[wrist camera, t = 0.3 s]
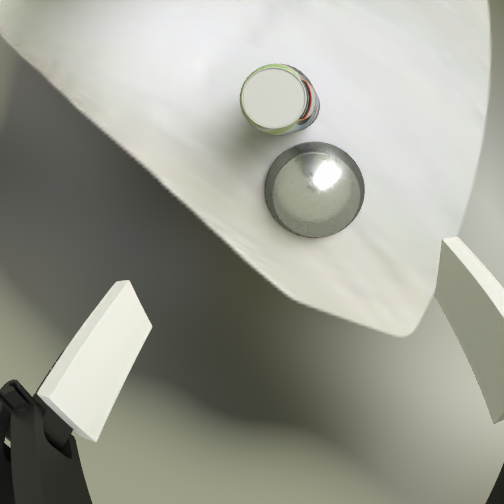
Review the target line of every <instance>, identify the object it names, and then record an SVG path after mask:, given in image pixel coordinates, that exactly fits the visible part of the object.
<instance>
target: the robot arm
mask: <svg viewBox="0 0 504 504" xmlns="http://www.w3.org/2000/svg"><path fill="white" fill-rule="evenodd" d="M435 298H436V299H437V301H438V303H439V304H440V306H441V308H442V310H443V312H444V314H445V315H446V317H447V319H448V321H449V323H450V325H451V327H452V328H453V330H454V332H455V334H456V336H457V338H458V340H459V342H460V344H461V346H462V348H463V350H464V352H465V354H466V357H467V359H468V361H469V363H470V365H471V368H472V370H473V372H474V374H475V377H476V379H477V381H478V384H479V386H480V388H481V391H482V394H483V396H484V399H485V401H486V404H487V407H488V409H489V412H490V415H491V418H492V420H493V423H494V424H495V423H497V422H499V421H502V420H503V419H504V289H503V288H502V286H501V285H500V284H499V283H498V281H497V280H496V279H495V278H494V277H493V275H492V274H491V273H490V272H489V271H488V270H487V268H486V267H485V266H484V265H483V264H482V263H481V262H480V260H479V259H478V258H477V257H476V256H475V255H474V254H473V253H472V252H471V251H470V249H468V247H466V245H465V244H464V243H463V242H462V241H461V240H460V239H459V238H458V237H453V238H446V239H442V244H441V254H440V262H439V270H438V277H437V283H436V289H435ZM151 328H152V325H151V323H150V321H149V319H148V317H147V315H146V313H145V311H144V309H143V308H142V306H141V304H140V302H139V300H138V298H137V296H136V293H135V291H134V289H133V287H132V285H131V283H130V281H129V280H125V281H117V282H116V283H115V284H114V285H113V286H112V288H111V289H110V290H109V291H108V293H107V294H106V295H105V296H104V298H103V299H102V300H101V302H100V303H99V304H98V306H97V307H96V308H95V310H94V311H93V312H92V314H91V315H90V316H89V318H88V319H87V320H86V321H85V323H84V324H83V326H82V327H81V328H80V330H79V331H78V332H77V334H76V335H75V337H74V338H73V340H72V341H71V342H70V344H69V345H68V347H67V348H66V349H65V350H64V351H63V352H62V353H61V354H60V356H59V357H58V359H57V360H56V361H57V362H55V363H54V365H53V366H52V370H50V371H49V372H48V374H47V375H46V377H45V378H44V380H43V382H42V383H41V385H40V386H39V388H38V389H37V391H36V393H35V394H34V396H33V397H31V395H30V394H29V393H28V392H27V391H26V390H25V389H24V387H23V386H22V385H21V384H20V383H19V382H18V381H17V380H11V381H8V382H7V383H6V384H5V385H4V386H3V387H2V388H1V389H0V504H92V501H91V498H90V495H89V492H88V489H87V485H86V481H85V478H84V474H83V470H82V467H81V463H80V458H79V454H78V449H77V445H76V440H75V438H74V436H73V435H71V433H72V431H73V430H74V431H75V432H77V433H78V434H79V435H80V436H81V437H82V438H86V439H88V440H91V441H94V442H96V441H97V440H98V437H99V435H100V433H101V430H102V428H103V426H104V424H105V422H106V419H107V417H108V415H109V413H110V411H111V409H112V407H113V404H114V402H115V400H116V398H117V396H118V394H119V392H120V390H121V388H122V386H123V384H124V381H125V379H126V377H127V375H128V373H129V371H130V369H131V367H132V365H133V363H134V361H135V359H136V357H137V355H138V353H139V351H140V350H141V347H142V346H143V343H144V342H145V340H146V338H147V336H148V334H149V332H150V330H151ZM5 437H6V438H7V439H8V440H9V441H11V448H10V447H9V446H7V445H6V444H5V443H4V441H5ZM486 504H504V464H503V466H502V469H501V472H500V474H499V476H498V478H497V481H496V483H495V485H494V487H493V489H492V491H491V494H490V496H489V498H488V500H487V502H486Z"/></svg>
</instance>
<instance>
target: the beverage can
mask: <svg viewBox="0 0 504 504" xmlns="http://www.w3.org/2000/svg"><path fill="white" fill-rule="evenodd" d="M240 105H241V109H242V112H243V114H244V116H245V118H246V119H247V120H248V122H249V123H250V124H251V125H252V126H253V127H255V128H256V129H258V130H260V131H262V132H264V133H267V134H271V135H285V134H289V133H293V132H296V131H299V130H302V129H305V128H307V127H308V126H310V125H311V124H312V123H313V122H314V121H315V119H316V118H317V116H318V113H319V108H320V103H319V98H318V96H317V94H316V92H315V90H314V88H313V86H312V84H311V82H310V81H309V79H308V78H307V77H306V76H305V75H304V74H303V73H302V72H301V71H299V70H298V69H296V68H294V67H292V66H289V65H285V64H269V65H266V66H262V67H260V68H258V69H257V70H255V71H254V72H252V73H251V74H250V75H249V76H248V77H247V79H246V80H245V82H244V84H243V86H242V88H241V93H240Z"/></svg>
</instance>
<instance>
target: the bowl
mask: <svg viewBox="0 0 504 504" xmlns="http://www.w3.org/2000/svg"><path fill="white" fill-rule="evenodd" d="M364 192H365V191H364V180H363V177H362V174H361V171H360V169H359V167H358V166H357V164H356V163H355V161H354V160H353V159H352V158H351V157H350V156H349V155H348V154H347V153H346V152H344V151H343V150H341V149H340V148H338V147H336V146H334V145H331V144H328V143H323V142H306V143H301V144H298V145H295V146H293V147H291V148H289V149H288V150H286V151H285V152H283V153H282V154H281V155H280V156H279V157H278V158H277V159H276V160H275V162H274V163H273V165H272V166H271V168H270V170H269V173H268V176H267V179H266V185H265V195H266V201H267V205H268V207H269V210H270V212H271V213H272V215H273V217H274V218H275V219H276V221H277V222H278V223H279V224H280V225H281V226H283V227H284V228H285V229H287V230H288V231H290V232H292V233H294V234H297V235H300V236H303V237H309V238H320V237H326V236H330V235H333V234H335V233H337V232H339V231H341V230H343V229H344V228H346V227H347V226H348V225H349V224H350V223H351V222H352V221H353V220H354V219H355V217H356V216H357V214H358V213H359V211H360V209H361V206H362V203H363V200H364Z"/></svg>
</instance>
